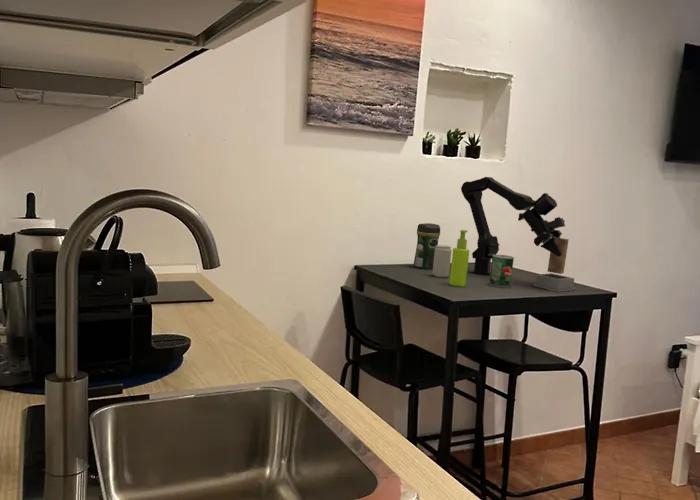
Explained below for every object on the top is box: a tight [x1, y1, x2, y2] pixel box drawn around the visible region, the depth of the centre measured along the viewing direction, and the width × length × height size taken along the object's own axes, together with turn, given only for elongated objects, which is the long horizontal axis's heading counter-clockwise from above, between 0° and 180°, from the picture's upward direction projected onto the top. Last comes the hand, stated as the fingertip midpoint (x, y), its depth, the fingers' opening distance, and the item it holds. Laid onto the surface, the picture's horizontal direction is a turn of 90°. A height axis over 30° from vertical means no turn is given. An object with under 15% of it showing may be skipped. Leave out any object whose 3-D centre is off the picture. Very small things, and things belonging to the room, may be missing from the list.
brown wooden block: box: [546, 237, 569, 275], centre depth 243 cm, size 5×4×13 cm
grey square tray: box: [533, 272, 576, 293], centre depth 244 cm, size 11×11×4 cm
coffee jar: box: [413, 222, 441, 270], centre depth 266 cm, size 10×8×19 cm
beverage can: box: [432, 244, 453, 278], centre depth 248 cm, size 6×6×12 cm
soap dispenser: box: [448, 229, 470, 287], centre depth 233 cm, size 6×7×20 cm
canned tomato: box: [488, 254, 515, 288], centre depth 240 cm, size 8×8×11 cm
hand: (561, 255), depth 242 cm, fingers closed on brown wooden block, 4 cm apart
